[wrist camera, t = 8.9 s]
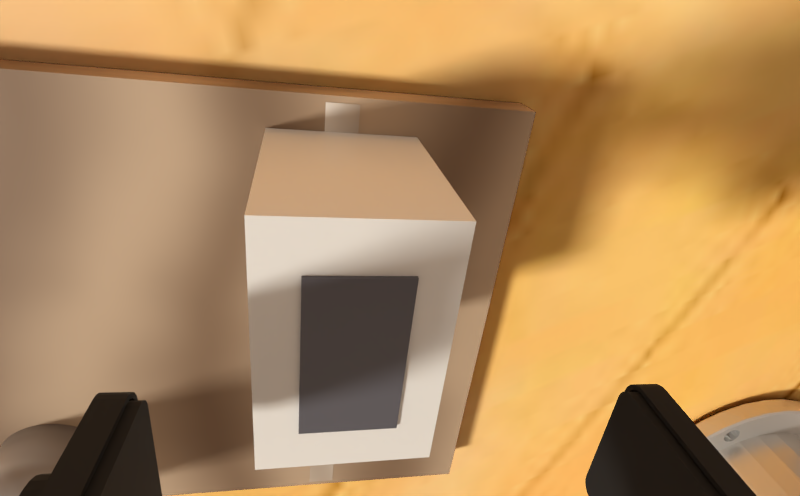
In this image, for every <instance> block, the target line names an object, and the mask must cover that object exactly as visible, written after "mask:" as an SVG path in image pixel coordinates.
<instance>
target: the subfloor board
mask: <svg viewBox="0 0 800 496" xmlns="http://www.w3.org/2000/svg"><path fill="white" fill-rule="evenodd" d="M535 113H536V112H535V111H533V110H532V109H530V108H528V107H527V106H525V105H523V104H522V103H512V102H500V101H488V100H477V99H465V98H453V97H441V96H429V95H417V94H406V93H394V92H382V91H370V90H358V89H346V88H334V87H323V86H311V85H299V84H287V83H275V82H263V81H252V80H240V79H228V78H216V77H204V76H192V75H181V74H169V73H157V72H145V71H133V70H121V69H110V68H98V67H86V66H74V65H62V64H50V63H39V62H27V61H15V60H3V59H0V447H1V445H2V444H3V442H4V441H5V440H6V439H7V438H8V437H9V436H11V435H12V434H14V433H16V432H17V431H19V430H22V429H24V428H28V427H31V426H36V425H43V424H63V425H70V426H75V427H78V425H79V423H80V421H81V419H82V418H83V416H84V414H85V412H86V411H87V409H88V407H89V405H90V403H91V402H92V400H93V398H94V397H95V396H96V394H98V393H102V392H135V394H136V395H137V399H138V400H146V401H147V403H148V408H149V415H150V421H151V427H152V434H153V440H154V446H155V453H156V459H157V466H158V472H159V478H160V485H161V491H162V496H166V495H179V494H192V493H205V492H218V491H231V490H244V489H257V488H270V487H283V486H295V485H308V484H321V483H334V482H347V481H360V480H373V479H386V478H399V477H412V476H425V475H437V474H449V472H450V468H451V464H452V459H453V455H454V451H455V447H456V443H457V439H458V434H459V430H460V426H461V422H462V418H463V413H464V409H465V405H466V401H467V397H468V393H469V388H470V384H471V380H472V376H473V372H474V368H475V363H476V359H477V355H478V351H479V347H480V343H481V338H482V334H483V330H484V326H485V322H486V318H487V313H488V309H489V305H490V301H491V297H492V293H493V288H494V284H495V280H496V276H497V272H498V268H499V263H500V259H501V255H502V251H503V247H504V243H505V238H506V234H507V230H508V226H509V222H510V218H511V213H512V209H513V205H514V201H515V197H516V193H517V188H518V184H519V180H520V176H521V172H522V168H523V163H524V159H525V155H526V151H527V147H528V143H529V138H530V134H531V130H532V126H533V122H534V118H535ZM265 128H276V129H292V130H309V131H325V132H341V133H357V134H374V135H390V136H406V137H417V138H418V139H419V141H420V142H421V143H422V145H423V146H424V148H425V149H426V151H427V152H428V153H429V155H430V156H431V158H432V159H433V160H434V162H435V163H436V165H437V166H438V168H439V169H440V170H441V172H442V173H443V175H444V176H445V178H446V179H447V180H448V182H449V183H450V185H451V186H452V188H453V189H454V190H455V192H456V193H457V195H458V196H459V197H460V199H461V200H462V202H463V203H464V205H465V206H466V207H467V209H468V210H469V212H470V213H471V215H472V216H473V217H474V219H475V220H476V226H475V231H474V236H473V241H472V246H471V251H470V256H469V261H468V266H467V271H466V276H465V281H464V286H463V291H462V296H461V301H460V306H459V311H458V316H457V321H456V326H455V331H454V336H453V341H452V346H451V351H450V356H449V361H448V366H447V371H446V376H445V381H444V386H443V391H442V396H441V401H440V406H439V411H438V416H437V421H436V426H435V431H434V436H433V441H432V446H431V451H430V456H429V457H425V458H411V459H397V460H383V461H370V462H356V463H342V464H329V465H315V466H301V467H288V468H274V469H260V470H255V457H254V434H253V410H252V386H251V362H250V338H249V314H248V290H247V266H246V243H245V219H244V215H245V211H246V206H247V202H248V198H249V194H250V190H251V186H252V182H253V178H254V173H255V169H256V165H257V161H258V157H259V153H260V149H261V145H262V140H263V136H264V132H265Z"/></svg>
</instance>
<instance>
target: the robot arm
mask: <svg viewBox="0 0 800 496" xmlns="http://www.w3.org/2000/svg"><path fill="white" fill-rule="evenodd" d="M586 489H587V493H588V495H589V496H800V401H793V400H786V399H776V400H761V401H757V402H752V403H747V404H742V405H739V406H736V407H733V408H730V409H727V410H724V411H722V412H719V413H717V414H715V415H713V416H711V417H709V418H706V419H704V420H702V421H700V422H699V423H697V424H694V422H693V421H692V420H691V419H690V418H689V417H688V416H687V414H686V413H685V412H684V411H683V410H682V409H681V407H680V406H679V405H678V404H677V403H676V402H675V400H674V399H673V398H672V397H671V396H670V395H669V393H668V392H667V391H666V390H665V389H664V388H663V387H662V386H660V385H657V384H640V385H630V386H628V387H627V388H626V390H625V392H622V393H621V394H620V395H619V397H618V400H617V402H616V405H615V407H614V410H613V412H612V414H611V417H610V419H609V422H608V424H607V427H606V429H605V432H604V434H603V437H602V439H601V441H600V444H599V446H598V449H597V451H596V454H595V456H594V459H593V461H592V464H591V466H590V469H589V471H588V473H587V476H586ZM19 496H162V491H161V485H160V478H159V472H158V466H157V459H156V453H155V446H154V440H153V434H152V427H151V421H150V415H149V408H148V403H147V401H146V400H138V399H137V395H136V394H135V392H102V393H98V394H96V396H95V397H94V398H93V400H92V402H91V403H90V405H89V407H88V409H87V411H86V412H85V414H84V416H83V418H82V419H81V421H80V423H79V425H78V427H77V428H76V430H75V432H74V434H73V435H72V437H71V439H70V441H69V443H68V444H67V446H66V448H65V450H64V451H63V453H62V455H61V457H60V459H59V460H58V462H57V464H56V466H55V467H54V469H53V471H52V473H49V474H39V475H36V476H35V477H33V478H32V479H31V480H30V481H29V482H28V483H27V485H26V486H25V487H24V489H23V490H22V492H21V493H20V495H19Z"/></svg>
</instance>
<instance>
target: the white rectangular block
mask: <svg viewBox="0 0 800 496" xmlns="http://www.w3.org/2000/svg"><path fill="white" fill-rule="evenodd" d="M244 219H245V243H246V266H247V290H248V314H249V338H250V362H251V386H252V410H253V434H254V457H255V470H260V469H274V468H288V467H301V466H315V465H329V464H342V463H356V462H370V461H383V460H397V459H411V458H425V457H429V456H430V451H431V446H432V441H433V436H434V431H435V426H436V421H437V416H438V411H439V406H440V401H441V396H442V391H443V386H444V381H445V376H446V371H447V366H448V361H449V356H450V351H451V346H452V341H453V336H454V331H455V326H456V321H457V316H458V311H459V306H460V301H461V296H462V291H463V286H464V281H465V276H466V271H467V266H468V261H469V256H470V251H471V246H472V241H473V236H474V231H475V226H476V220H475V219H474V217H473V216H472V215H471V213H470V212H469V210H468V209H467V207H466V206H465V205H464V203H463V202H462V200H461V199H460V197H459V196H458V195H457V193H456V192H455V190H454V189H453V188H452V186H451V185H450V183H449V182H448V180H447V179H446V178H445V176H444V175H443V173H442V172H441V170H440V169H439V168H438V166H437V165H436V163H435V162H434V160H433V159H432V158H431V156H430V155H429V153H428V152H427V151H426V149H425V148H424V146H423V145H422V143H421V142H420V141H419V139H418V138H417V137H406V136H390V135H374V134H357V133H341V132H325V131H309V130H292V129H276V128H265V132H264V136H263V140H262V145H261V149H260V153H259V157H258V161H257V165H256V169H255V173H254V178H253V182H252V186H251V190H250V194H249V198H248V202H247V206H246V211H245V215H244Z"/></svg>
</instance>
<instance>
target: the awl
mask: <svg viewBox="0 0 800 496" xmlns="http://www.w3.org/2000/svg"><path fill="white" fill-rule="evenodd" d="M76 428H77V427H75V426H70V425H63V424H43V425H36V426H31V427H28V428H24V429H22V430H19V431H17V432H16V433H14V434H12V435H11V436H9V437H8V438H7V439H6V440H5V441H4V442H3V444H2V445H1V447H0V496H19V495H20V493H21V492H22V490H23V489H24V487H25V486H26V485H27V483H28V482H29V481H30V480H31V479H32V478H33V477H35V476H36V475H39V474H49V473H52V471H53V469H54V467H55V466H56V464H57V462H58V460H59V459H60V457H61V455H62V453H63V451H64V450H65V448H66V446H67V444H68V443H69V441H70V439H71V437H72V435H73V434H74V432H75V430H76Z"/></svg>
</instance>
